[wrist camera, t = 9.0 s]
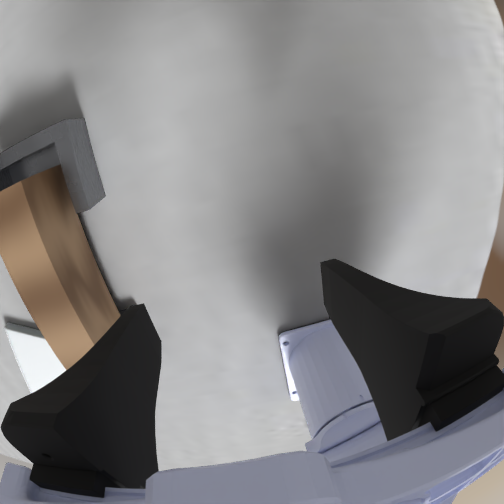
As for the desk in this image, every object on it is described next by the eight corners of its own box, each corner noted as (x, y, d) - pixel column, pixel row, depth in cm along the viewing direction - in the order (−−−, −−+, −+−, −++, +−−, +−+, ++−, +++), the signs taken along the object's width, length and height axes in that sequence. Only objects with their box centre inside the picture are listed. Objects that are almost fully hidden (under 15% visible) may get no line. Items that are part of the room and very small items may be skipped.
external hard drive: (80, 333, 23) (101, 414, 28) (10, 318, 22) (40, 399, 27) (75, 345, 22) (98, 425, 27) (2, 328, 20) (36, 409, 25)
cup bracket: (105, 196, 18) (90, 209, 16) (25, 225, 18) (4, 241, 15) (84, 118, 16) (64, 119, 13) (3, 158, 16) (-20, 166, 13)
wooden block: (132, 338, 22) (120, 385, 18) (96, 344, 22) (79, 388, 18) (61, 163, 16) (20, 180, 12) (23, 181, 16) (-20, 202, 11)
